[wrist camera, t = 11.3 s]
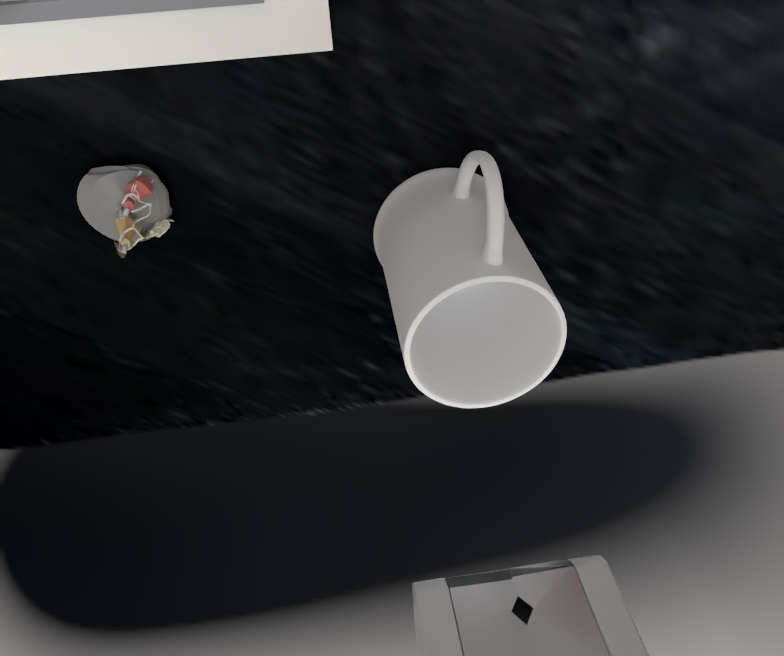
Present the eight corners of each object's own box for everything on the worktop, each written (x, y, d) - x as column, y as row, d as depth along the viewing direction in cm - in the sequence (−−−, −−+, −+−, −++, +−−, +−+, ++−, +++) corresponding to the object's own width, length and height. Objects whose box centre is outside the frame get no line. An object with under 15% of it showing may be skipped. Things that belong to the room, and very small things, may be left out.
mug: (397, 101, 37) (435, 193, 28) (541, 123, 39) (624, 216, 29) (362, 282, 44) (384, 408, 34) (487, 294, 46) (541, 417, 36)
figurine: (65, 195, 38) (53, 253, 33) (103, 132, 36) (97, 185, 32) (152, 237, 41) (153, 296, 36) (192, 182, 39) (197, 235, 35)
